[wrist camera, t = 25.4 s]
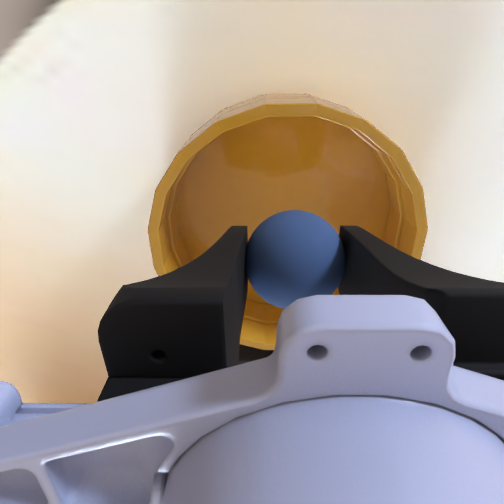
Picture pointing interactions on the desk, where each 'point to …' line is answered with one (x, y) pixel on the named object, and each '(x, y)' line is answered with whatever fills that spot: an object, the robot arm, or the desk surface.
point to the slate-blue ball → (294, 258)
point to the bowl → (283, 186)
